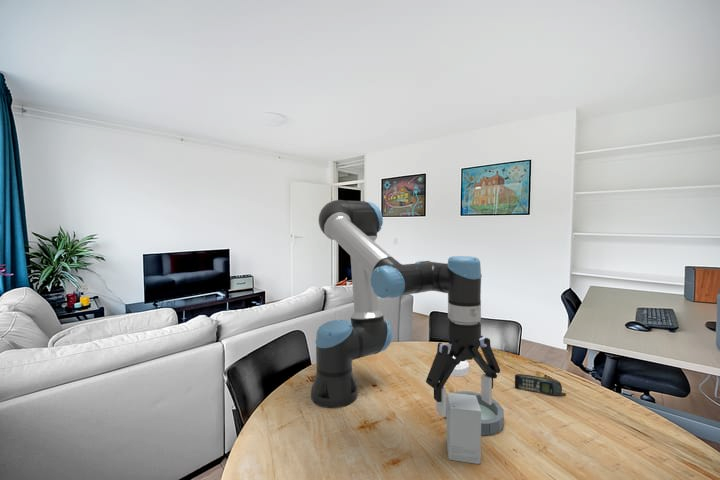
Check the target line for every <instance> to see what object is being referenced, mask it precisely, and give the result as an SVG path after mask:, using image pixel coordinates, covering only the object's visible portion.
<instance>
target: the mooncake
mask: <svg viewBox="0 0 720 480" xmlns="http://www.w3.org/2000/svg"><path fill="white" fill-rule="evenodd" d="M452 358H454V359H456V358H455V357H454V356H453V357H452ZM469 373H470V364H469V362H468V361H467V360H465V361H461V362H460V363H459V364H458V365H456V367H455V368H454V370H453V372H452V373H451V375H450V376H449V377H456V378H458V377H465V376H467V375H468V374H469Z"/></svg>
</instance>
